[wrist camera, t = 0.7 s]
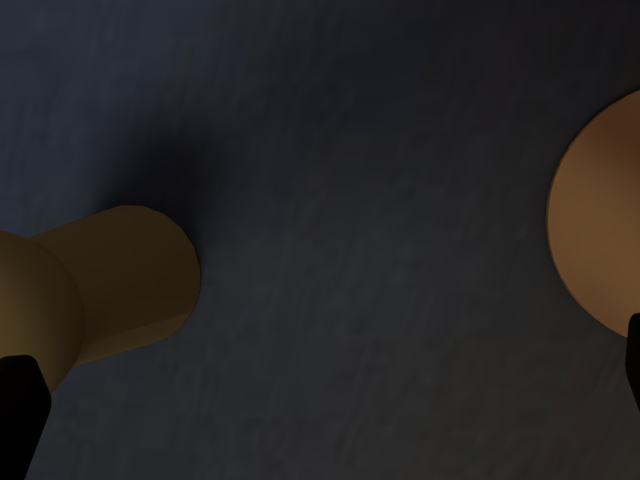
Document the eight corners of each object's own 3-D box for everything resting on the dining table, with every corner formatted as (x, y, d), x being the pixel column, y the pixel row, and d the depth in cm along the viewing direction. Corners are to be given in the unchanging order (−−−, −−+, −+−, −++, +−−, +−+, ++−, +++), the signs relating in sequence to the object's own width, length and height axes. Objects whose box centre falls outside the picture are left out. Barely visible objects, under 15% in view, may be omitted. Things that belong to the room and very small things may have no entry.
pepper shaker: (38, 270, 26) (-216, 329, 16) (132, 174, 26) (-69, 165, 15) (132, 374, 26) (-59, 506, 15) (229, 281, 25) (100, 352, 14)
